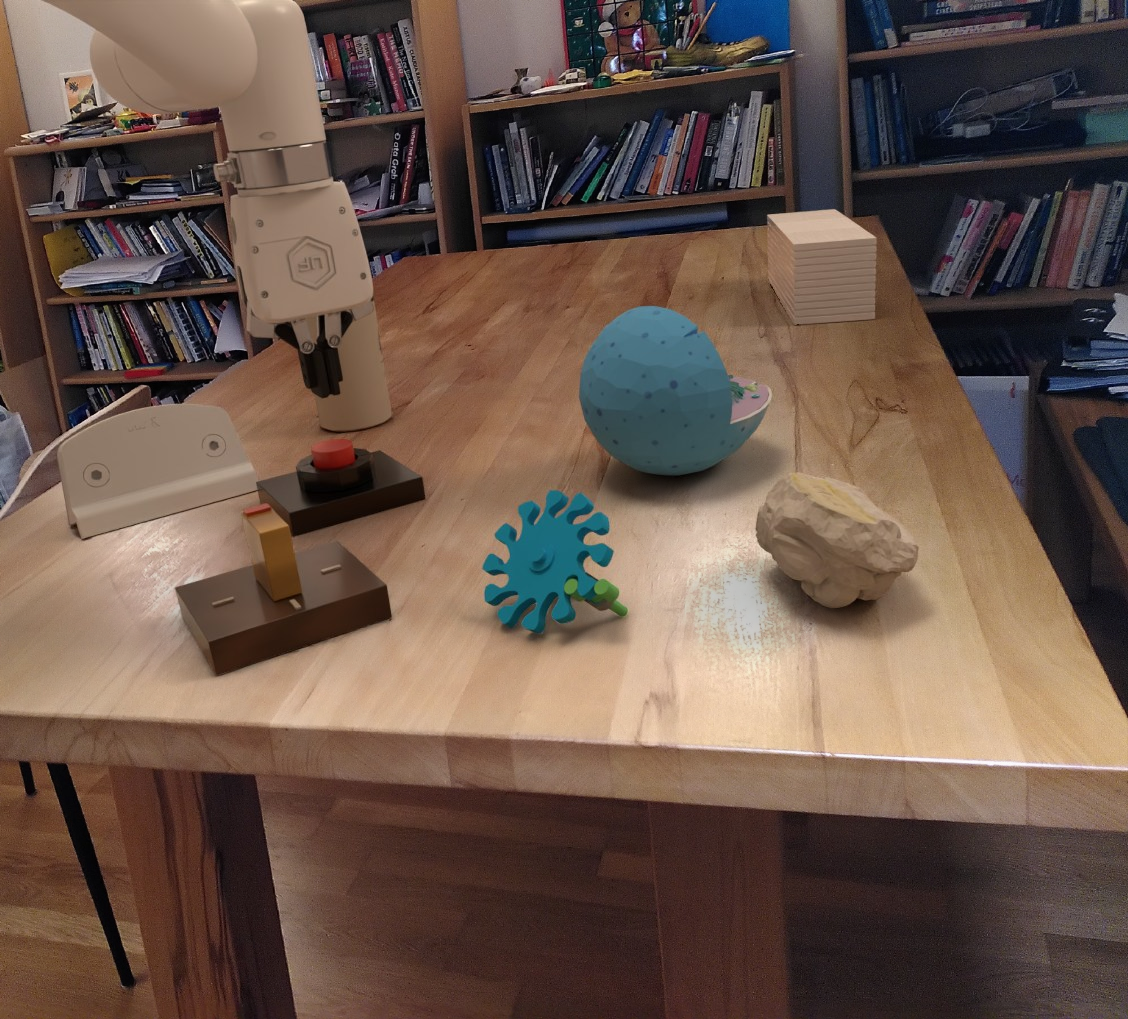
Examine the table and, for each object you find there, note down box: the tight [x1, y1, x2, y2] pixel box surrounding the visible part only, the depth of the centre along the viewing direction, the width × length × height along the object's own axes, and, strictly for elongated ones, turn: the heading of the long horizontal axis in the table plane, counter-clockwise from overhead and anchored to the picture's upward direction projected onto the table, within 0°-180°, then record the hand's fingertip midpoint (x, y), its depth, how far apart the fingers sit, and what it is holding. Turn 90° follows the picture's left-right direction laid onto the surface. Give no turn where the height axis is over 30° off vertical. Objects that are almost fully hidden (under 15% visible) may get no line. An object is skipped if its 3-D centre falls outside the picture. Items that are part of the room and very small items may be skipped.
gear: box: [481, 489, 629, 635], centre depth 70 cm, size 11×6×10 cm
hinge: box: [56, 403, 260, 540], centre depth 95 cm, size 17×5×10 cm, turn 124°
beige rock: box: [755, 471, 920, 609], centre depth 68 cm, size 12×8×10 cm
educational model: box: [578, 305, 773, 477], centre depth 91 cm, size 16×19×15 cm
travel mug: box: [305, 296, 393, 433], centre depth 113 cm, size 8×8×18 cm
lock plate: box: [174, 539, 393, 676], centre depth 72 cm, size 12×10×3 cm
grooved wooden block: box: [766, 208, 878, 326], centre depth 153 cm, size 32×11×11 cm, turn 176°
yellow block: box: [240, 503, 302, 601], centre depth 71 cm, size 5×2×5 cm, turn 30°
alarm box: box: [256, 447, 427, 538], centre depth 92 cm, size 12×10×4 cm
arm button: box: [310, 438, 356, 469], centre depth 91 cm, size 4×4×2 cm
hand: (326, 393), depth 90 cm, fingers closed
